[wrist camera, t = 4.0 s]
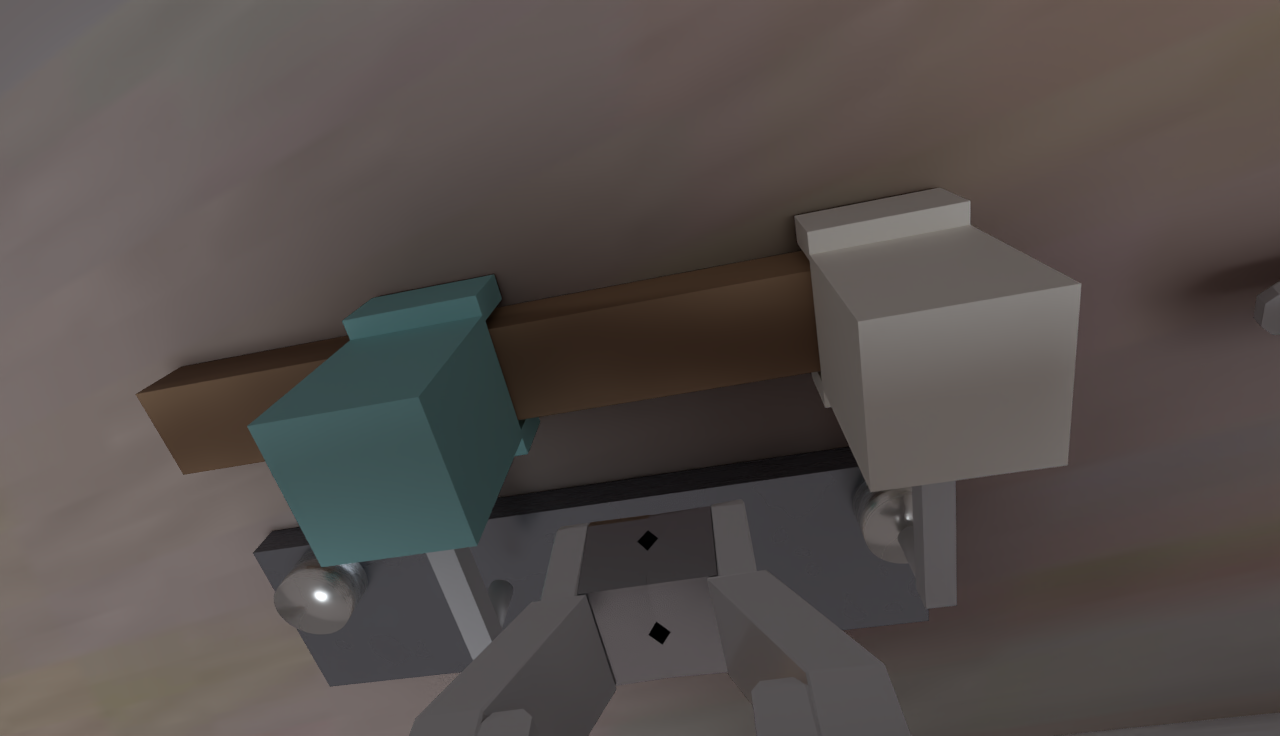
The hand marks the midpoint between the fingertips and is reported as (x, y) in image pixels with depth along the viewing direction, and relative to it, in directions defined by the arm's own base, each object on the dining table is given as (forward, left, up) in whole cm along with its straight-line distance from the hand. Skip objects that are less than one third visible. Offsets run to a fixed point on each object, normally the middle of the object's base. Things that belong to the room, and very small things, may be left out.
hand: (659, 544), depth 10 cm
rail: (0, +5, -11) cm, 12 cm away
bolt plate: (-9, +5, -11) cm, 15 cm away
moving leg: (-3, +7, -10) cm, 13 cm away
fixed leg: (-3, -6, -10) cm, 12 cm away
